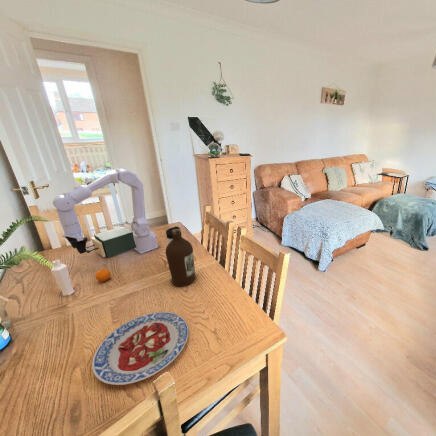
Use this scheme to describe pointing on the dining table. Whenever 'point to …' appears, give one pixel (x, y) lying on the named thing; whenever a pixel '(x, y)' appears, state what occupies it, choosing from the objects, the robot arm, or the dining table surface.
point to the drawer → (97, 247)
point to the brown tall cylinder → (170, 234)
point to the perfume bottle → (62, 277)
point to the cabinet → (116, 241)
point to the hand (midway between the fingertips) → (79, 250)
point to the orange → (103, 275)
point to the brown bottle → (180, 260)
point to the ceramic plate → (140, 348)
